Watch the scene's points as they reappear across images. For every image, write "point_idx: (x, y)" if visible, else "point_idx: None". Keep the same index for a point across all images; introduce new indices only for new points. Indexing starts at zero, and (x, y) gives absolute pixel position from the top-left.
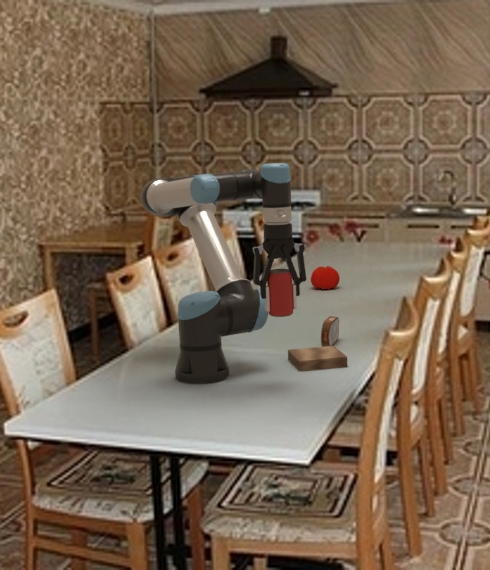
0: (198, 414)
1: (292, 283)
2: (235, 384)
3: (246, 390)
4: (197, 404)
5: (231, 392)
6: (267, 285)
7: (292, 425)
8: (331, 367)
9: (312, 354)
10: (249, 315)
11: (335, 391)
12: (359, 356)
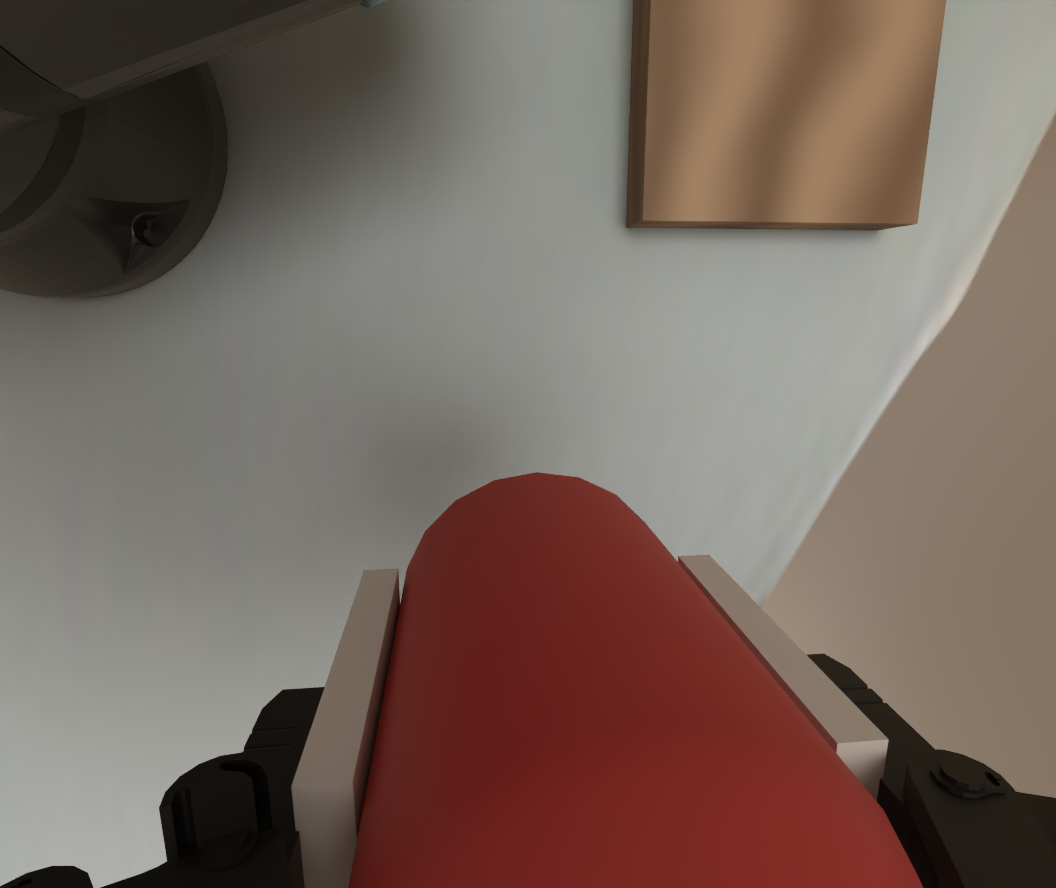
0: (47, 773)
1: (866, 750)
2: (249, 363)
3: (295, 487)
4: (38, 639)
5: (216, 498)
6: (363, 806)
7: None
8: (799, 228)
9: (761, 86)
10: (272, 9)
11: None
12: (1024, 22)
